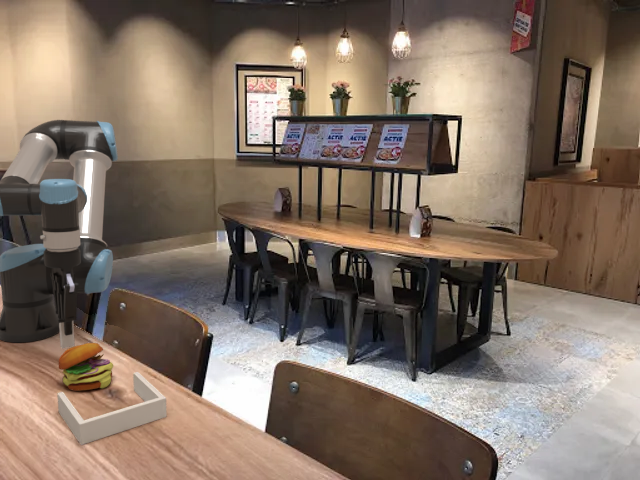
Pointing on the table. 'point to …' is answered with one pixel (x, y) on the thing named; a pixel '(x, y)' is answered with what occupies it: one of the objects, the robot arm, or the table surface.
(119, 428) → the box
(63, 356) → the cheeseburger
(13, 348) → the table surface
